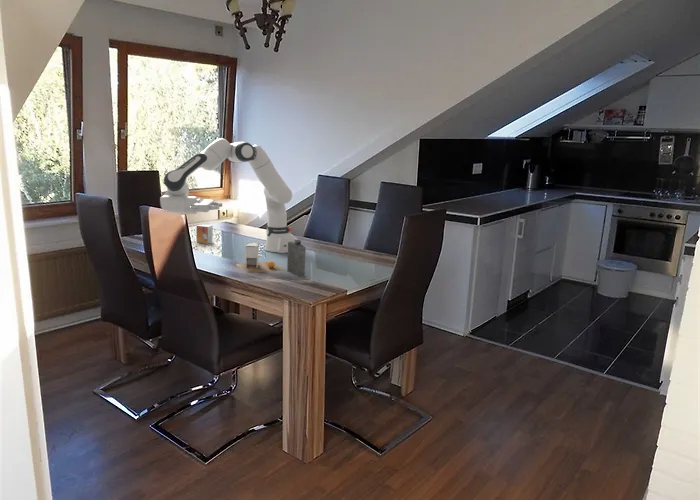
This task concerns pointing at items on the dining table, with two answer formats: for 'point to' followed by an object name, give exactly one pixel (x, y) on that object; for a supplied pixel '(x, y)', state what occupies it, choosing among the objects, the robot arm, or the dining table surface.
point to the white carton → (252, 254)
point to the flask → (296, 258)
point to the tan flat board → (261, 267)
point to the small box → (204, 234)
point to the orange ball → (271, 264)
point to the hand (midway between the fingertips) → (220, 206)
